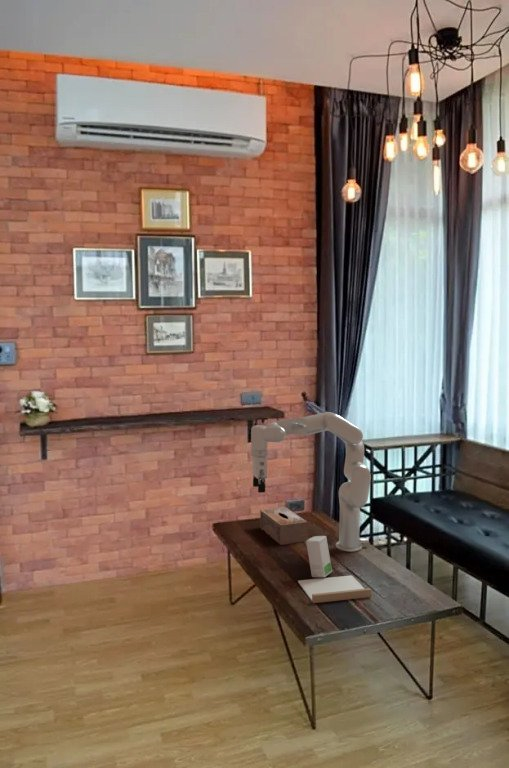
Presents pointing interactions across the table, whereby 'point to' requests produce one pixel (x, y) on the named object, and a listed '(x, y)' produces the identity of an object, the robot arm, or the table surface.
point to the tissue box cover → (283, 525)
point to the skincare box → (319, 556)
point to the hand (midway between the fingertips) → (259, 489)
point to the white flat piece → (334, 589)
